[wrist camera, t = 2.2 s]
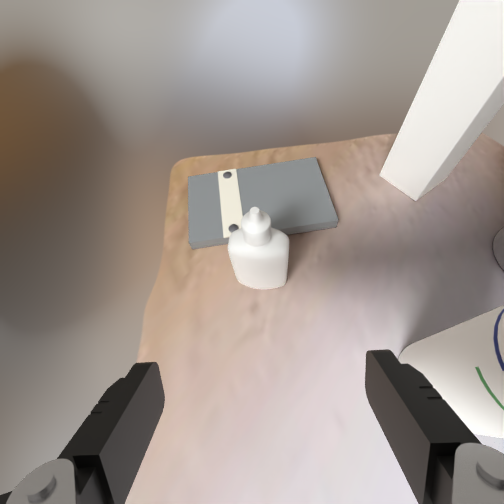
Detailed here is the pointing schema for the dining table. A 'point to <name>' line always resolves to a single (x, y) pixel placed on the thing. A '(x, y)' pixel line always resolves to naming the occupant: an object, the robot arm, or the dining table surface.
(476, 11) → the milk
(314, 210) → the floor panel
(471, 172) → the dining table surface
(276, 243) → the eye dropper bottle
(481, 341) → the cylindrical container
